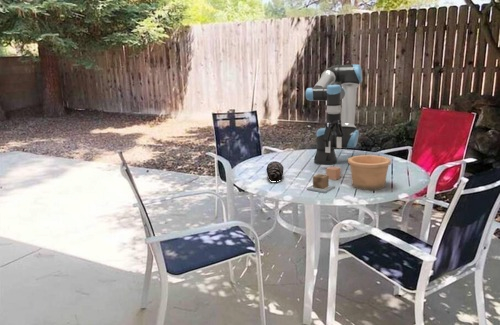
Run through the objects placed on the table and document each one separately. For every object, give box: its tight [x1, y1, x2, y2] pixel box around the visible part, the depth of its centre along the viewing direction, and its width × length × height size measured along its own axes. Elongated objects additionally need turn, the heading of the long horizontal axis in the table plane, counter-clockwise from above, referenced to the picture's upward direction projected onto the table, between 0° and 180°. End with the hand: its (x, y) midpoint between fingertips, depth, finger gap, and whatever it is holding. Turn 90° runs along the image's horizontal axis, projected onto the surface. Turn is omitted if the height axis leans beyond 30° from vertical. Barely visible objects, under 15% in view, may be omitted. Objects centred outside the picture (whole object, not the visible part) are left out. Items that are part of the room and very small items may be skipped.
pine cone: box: [266, 160, 284, 183], centre depth 238 cm, size 10×18×10 cm, turn 4°
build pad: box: [306, 184, 336, 194], centre depth 217 cm, size 11×11×1 cm
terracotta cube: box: [325, 165, 342, 181], centre depth 236 cm, size 6×6×6 cm
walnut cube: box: [312, 173, 330, 189], centre depth 217 cm, size 6×6×6 cm
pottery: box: [347, 154, 392, 191], centre depth 218 cm, size 22×22×14 cm
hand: (333, 150), depth 233 cm, fingers open, 13 cm apart
